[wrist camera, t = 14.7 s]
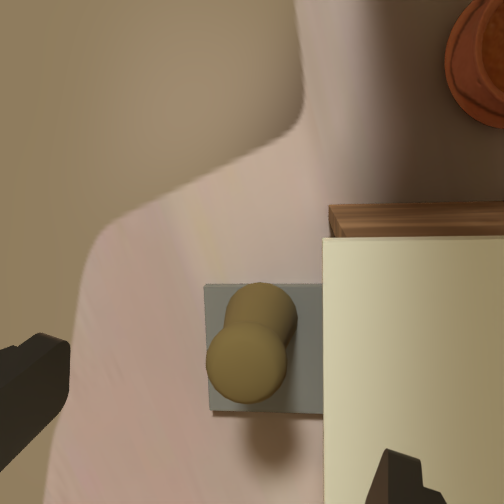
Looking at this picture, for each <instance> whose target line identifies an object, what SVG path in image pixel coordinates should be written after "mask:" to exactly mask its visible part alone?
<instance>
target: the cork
mask: <svg viewBox="0 0 504 504" xmlns="http://www.w3.org/2000/svg"><path fill="white" fill-rule="evenodd" d="M297 320H298V315H297V311H296V306H295V304H294V303H293V301H292V299H291V297H290V296H289V295H288V294H287V293H286V292H284V291H283V290H282V289H281V288H279V287H277V286H275V285H272V284H269V283H261V282H258V283H253V284H248V285H246V286H244V287H242V288H240V289H239V290H237V292H236V293H235V294H234V295H233V296H232V297H231V298H230V300H229V303H228V305H227V307H226V313H225V319H224V326H223V329H222V330H221V331H220V332H219V333H218V334H217V335H216V336H215V337H214V338H213V340H212V341H211V344H210V346H209V348H208V350H207V355H206V370H207V374H208V378H209V380H210V382H211V384H212V385H213V387H214V389H215V390H216V391H217V392H219V393H220V394H221V395H222V396H223V397H224V398H226V399H229V400H231V401H233V402H235V403H241V404H254V403H260V402H262V401H264V400H266V399H268V398H270V397H271V396H272V395H273V394H274V393H275V392H276V391H277V390H278V389H279V388H280V387H281V385H282V383H283V381H284V379H285V377H286V372H287V363H288V359H287V354H286V348H287V346H288V344H289V342H290V340H291V339H292V337H293V335H294V332H295V330H296V328H297Z"/></svg>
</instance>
